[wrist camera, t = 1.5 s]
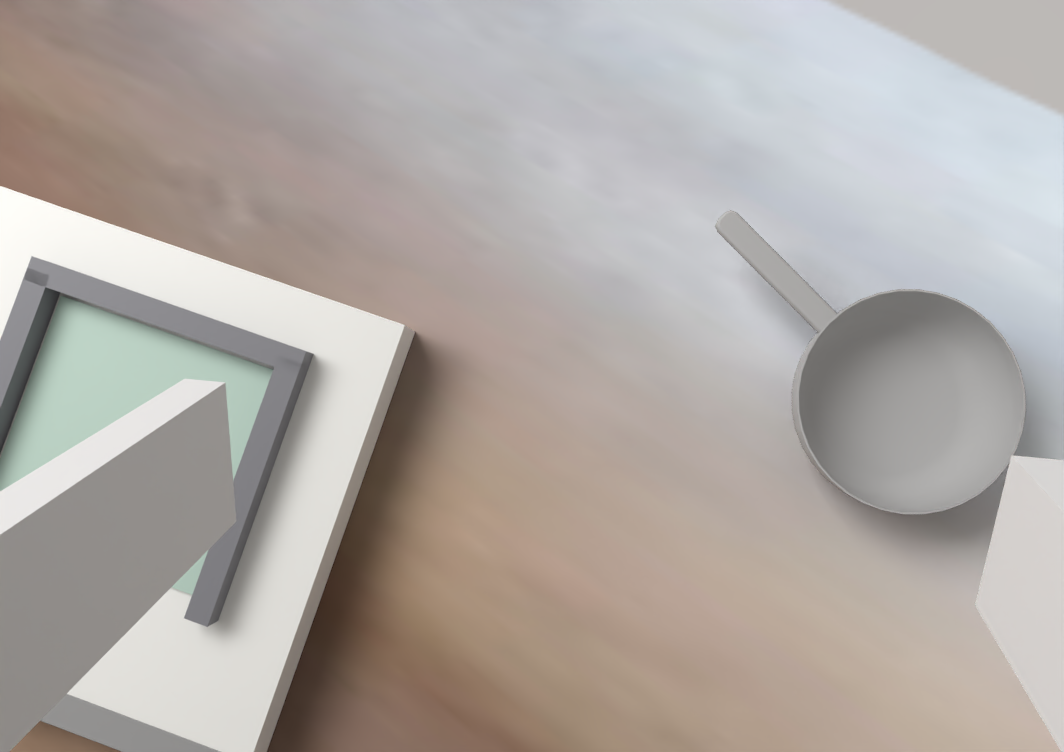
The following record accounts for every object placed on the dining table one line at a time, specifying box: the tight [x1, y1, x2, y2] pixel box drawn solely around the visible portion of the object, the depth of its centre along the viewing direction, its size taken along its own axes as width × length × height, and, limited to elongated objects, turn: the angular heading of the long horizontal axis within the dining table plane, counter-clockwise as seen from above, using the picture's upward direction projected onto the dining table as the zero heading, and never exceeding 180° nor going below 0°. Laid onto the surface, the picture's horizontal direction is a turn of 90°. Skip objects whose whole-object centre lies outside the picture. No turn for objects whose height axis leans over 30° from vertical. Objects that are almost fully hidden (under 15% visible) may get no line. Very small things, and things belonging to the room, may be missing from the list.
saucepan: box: [715, 210, 1026, 514], centre depth 43 cm, size 11×18×4 cm, turn 45°
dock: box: [0, 186, 415, 752], centre depth 44 cm, size 24×22×4 cm
